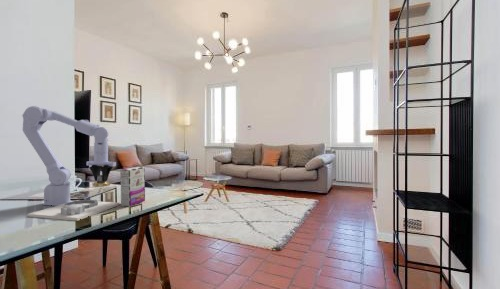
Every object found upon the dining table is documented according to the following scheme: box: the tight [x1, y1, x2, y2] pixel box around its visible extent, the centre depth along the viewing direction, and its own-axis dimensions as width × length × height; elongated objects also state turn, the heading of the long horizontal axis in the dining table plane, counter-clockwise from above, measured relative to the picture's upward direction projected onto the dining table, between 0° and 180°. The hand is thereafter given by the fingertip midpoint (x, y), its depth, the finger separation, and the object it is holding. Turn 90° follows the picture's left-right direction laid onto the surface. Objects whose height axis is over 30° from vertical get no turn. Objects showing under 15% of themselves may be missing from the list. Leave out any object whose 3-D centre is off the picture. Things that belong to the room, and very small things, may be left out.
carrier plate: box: [27, 199, 120, 222], centre depth 105 cm, size 22×22×4 cm
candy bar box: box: [119, 166, 146, 207], centre depth 116 cm, size 11×5×16 cm, turn 168°
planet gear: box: [92, 174, 111, 188], centre depth 121 cm, size 7×7×5 cm
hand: (101, 180), depth 121 cm, fingers closed on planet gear, 4 cm apart
